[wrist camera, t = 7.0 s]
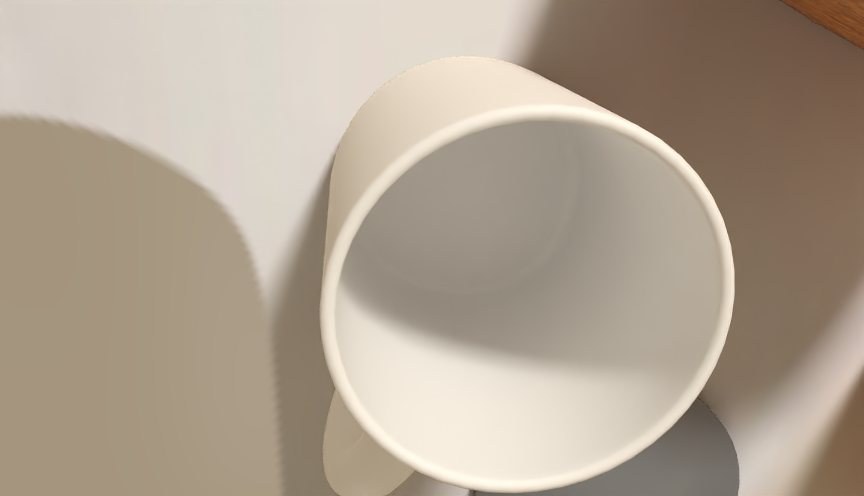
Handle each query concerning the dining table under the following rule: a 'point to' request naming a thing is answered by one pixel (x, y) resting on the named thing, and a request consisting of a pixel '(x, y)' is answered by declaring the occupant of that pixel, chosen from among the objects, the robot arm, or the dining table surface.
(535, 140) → the mug
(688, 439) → the slate coaster
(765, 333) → the dining table surface
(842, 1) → the wooden box
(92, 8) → the dining table surface
